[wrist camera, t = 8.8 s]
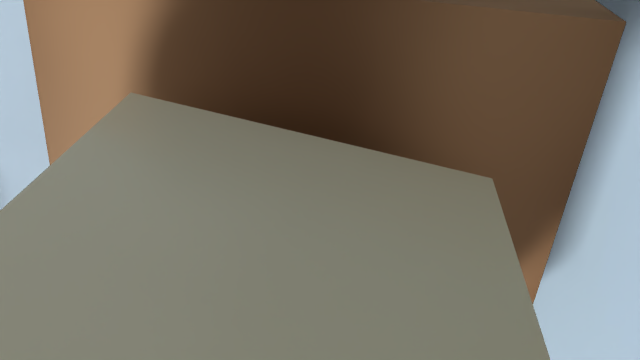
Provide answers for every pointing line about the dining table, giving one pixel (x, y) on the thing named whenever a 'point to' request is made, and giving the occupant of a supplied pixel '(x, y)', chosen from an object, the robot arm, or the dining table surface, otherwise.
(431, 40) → the walnut block
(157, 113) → the cream block
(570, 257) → the dining table surface
